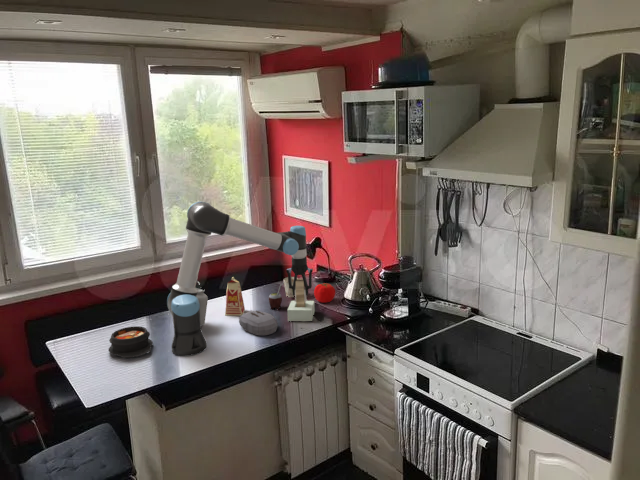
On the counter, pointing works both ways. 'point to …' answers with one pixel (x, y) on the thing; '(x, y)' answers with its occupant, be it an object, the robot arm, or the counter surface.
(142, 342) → the casserole
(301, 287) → the peg
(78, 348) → the counter surface
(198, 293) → the jar
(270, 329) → the small grey backpack
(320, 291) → the tomato
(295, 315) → the socket block
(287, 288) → the mug
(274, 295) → the mate gourd
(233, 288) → the milk carton
